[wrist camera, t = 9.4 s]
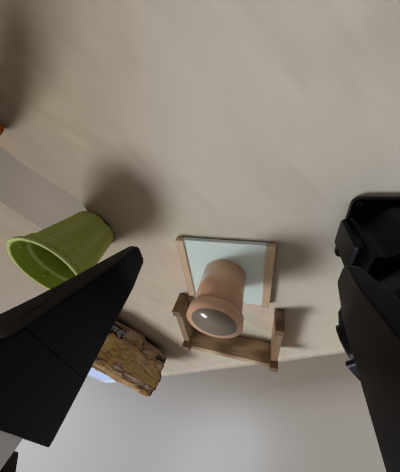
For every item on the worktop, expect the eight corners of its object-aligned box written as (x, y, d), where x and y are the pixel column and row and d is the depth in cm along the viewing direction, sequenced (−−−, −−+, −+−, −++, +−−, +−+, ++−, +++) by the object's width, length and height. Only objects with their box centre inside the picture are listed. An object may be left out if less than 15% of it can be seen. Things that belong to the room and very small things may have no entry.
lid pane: (275, 243, 23) (275, 247, 22) (268, 303, 29) (268, 307, 28) (177, 236, 26) (175, 240, 25) (190, 291, 32) (189, 295, 32)
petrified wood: (175, 351, 48) (154, 402, 42) (156, 348, 58) (137, 389, 52) (104, 310, 44) (69, 359, 38) (96, 315, 54) (68, 355, 48)
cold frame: (283, 309, 29) (285, 336, 26) (276, 346, 35) (277, 372, 32) (179, 293, 34) (170, 314, 31) (190, 328, 40) (183, 349, 37)
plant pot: (121, 211, 26) (71, 255, 20) (126, 260, 32) (89, 306, 26) (59, 191, 27) (-10, 226, 20) (75, 242, 33) (26, 282, 27)
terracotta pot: (248, 260, 24) (242, 310, 19) (248, 293, 28) (242, 343, 23) (200, 255, 26) (181, 300, 21) (205, 287, 30) (190, 332, 24)
